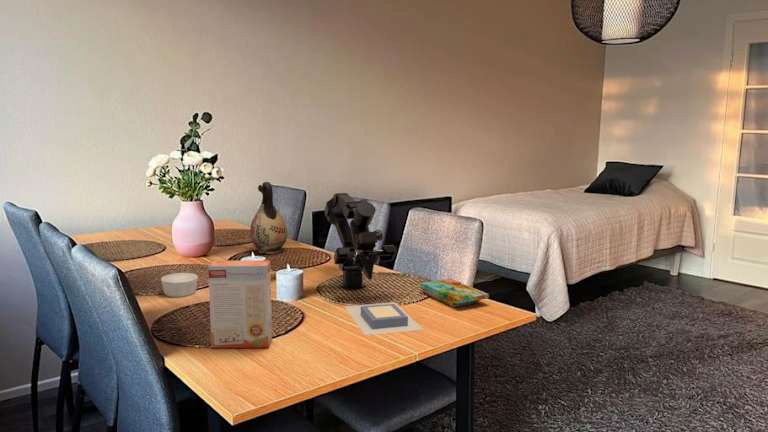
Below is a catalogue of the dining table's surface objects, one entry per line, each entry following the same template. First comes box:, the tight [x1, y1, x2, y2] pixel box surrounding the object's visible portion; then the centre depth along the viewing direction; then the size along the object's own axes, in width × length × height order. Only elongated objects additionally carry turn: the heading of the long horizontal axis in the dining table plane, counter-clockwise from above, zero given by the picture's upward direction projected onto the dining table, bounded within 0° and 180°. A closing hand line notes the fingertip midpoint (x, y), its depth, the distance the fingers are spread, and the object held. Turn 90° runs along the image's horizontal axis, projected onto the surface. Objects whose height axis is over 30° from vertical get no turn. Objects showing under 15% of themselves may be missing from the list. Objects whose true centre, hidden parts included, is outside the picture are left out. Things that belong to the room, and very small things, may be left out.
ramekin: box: [160, 272, 199, 298], centre depth 184 cm, size 11×11×5 cm
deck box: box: [361, 304, 408, 329], centre depth 160 cm, size 2×10×12 cm
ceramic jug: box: [249, 181, 289, 255], centre depth 238 cm, size 17×15×30 cm
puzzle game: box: [419, 278, 490, 308], centre depth 181 cm, size 12×5×20 cm
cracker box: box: [207, 259, 273, 349], centre depth 141 cm, size 14×6×21 cm, turn 92°
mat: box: [343, 301, 424, 336], centre depth 163 cm, size 24×16×1 cm, turn 17°
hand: (370, 278), depth 172 cm, fingers closed
